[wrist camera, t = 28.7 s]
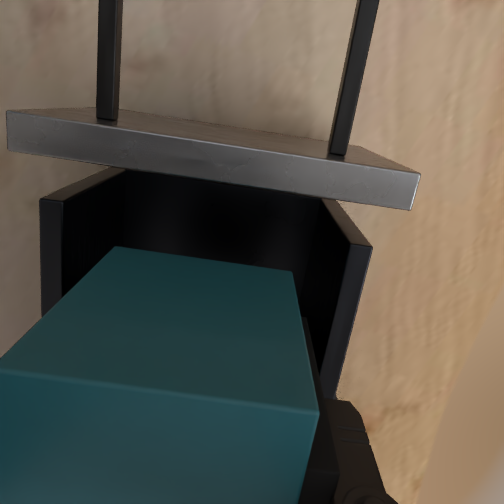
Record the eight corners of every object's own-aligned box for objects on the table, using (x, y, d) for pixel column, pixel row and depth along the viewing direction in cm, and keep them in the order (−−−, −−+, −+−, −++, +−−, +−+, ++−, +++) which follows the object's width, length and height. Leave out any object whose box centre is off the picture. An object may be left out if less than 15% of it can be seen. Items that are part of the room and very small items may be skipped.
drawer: (107, -52, 18) (-8, -168, 10) (394, -4, 19) (493, -81, 11) (96, 349, 25) (20, 464, 17) (307, 377, 25) (330, 503, 17)
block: (107, 394, 16) (2, 596, 9) (114, 245, 14) (-14, 368, 8) (264, 415, 16) (268, 628, 10) (293, 270, 14) (321, 412, 8)
